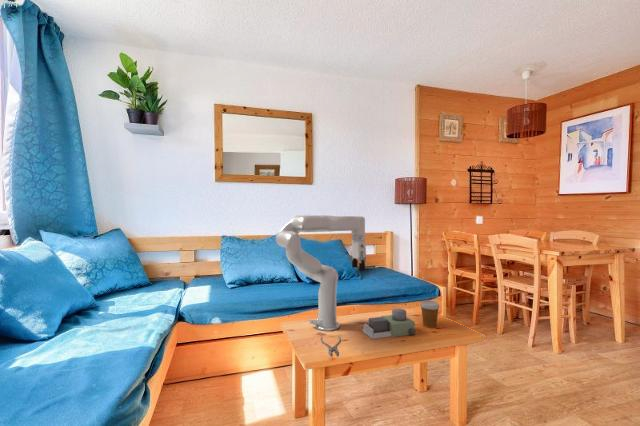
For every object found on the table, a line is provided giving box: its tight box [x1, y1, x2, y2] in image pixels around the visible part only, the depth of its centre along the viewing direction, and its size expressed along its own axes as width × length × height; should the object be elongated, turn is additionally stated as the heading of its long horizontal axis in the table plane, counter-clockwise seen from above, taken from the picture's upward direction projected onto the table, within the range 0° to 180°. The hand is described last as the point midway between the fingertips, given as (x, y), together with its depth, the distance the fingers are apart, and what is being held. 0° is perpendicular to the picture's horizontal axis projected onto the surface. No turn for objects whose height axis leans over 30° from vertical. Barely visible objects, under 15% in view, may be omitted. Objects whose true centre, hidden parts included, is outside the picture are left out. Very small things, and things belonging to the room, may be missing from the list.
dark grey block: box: [368, 316, 388, 333], centre depth 148 cm, size 8×5×6 cm, turn 107°
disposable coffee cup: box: [420, 300, 440, 329], centre depth 158 cm, size 10×10×12 cm
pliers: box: [320, 335, 342, 357], centre depth 135 cm, size 10×1×20 cm
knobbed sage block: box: [362, 308, 416, 340], centre depth 149 cm, size 23×14×10 cm, turn 107°
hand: (358, 268), depth 167 cm, fingers open, 9 cm apart
